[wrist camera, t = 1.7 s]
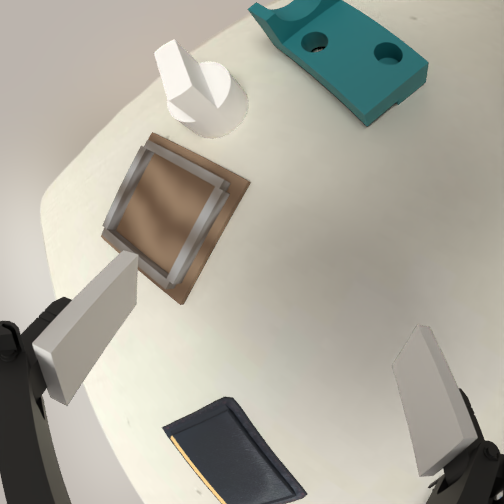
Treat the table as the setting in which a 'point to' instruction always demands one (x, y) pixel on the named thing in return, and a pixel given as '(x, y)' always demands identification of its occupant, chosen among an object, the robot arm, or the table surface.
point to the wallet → (232, 456)
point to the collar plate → (172, 213)
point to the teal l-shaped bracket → (345, 53)
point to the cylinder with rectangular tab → (200, 92)
